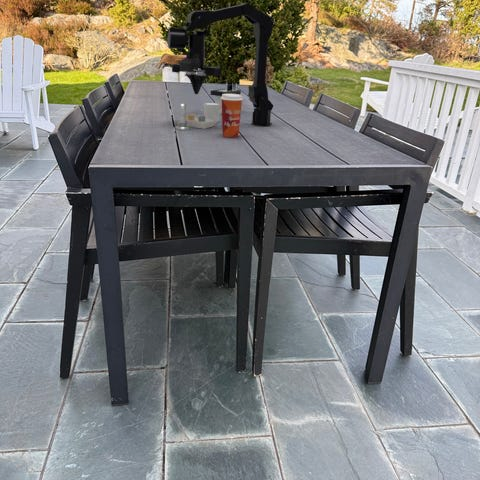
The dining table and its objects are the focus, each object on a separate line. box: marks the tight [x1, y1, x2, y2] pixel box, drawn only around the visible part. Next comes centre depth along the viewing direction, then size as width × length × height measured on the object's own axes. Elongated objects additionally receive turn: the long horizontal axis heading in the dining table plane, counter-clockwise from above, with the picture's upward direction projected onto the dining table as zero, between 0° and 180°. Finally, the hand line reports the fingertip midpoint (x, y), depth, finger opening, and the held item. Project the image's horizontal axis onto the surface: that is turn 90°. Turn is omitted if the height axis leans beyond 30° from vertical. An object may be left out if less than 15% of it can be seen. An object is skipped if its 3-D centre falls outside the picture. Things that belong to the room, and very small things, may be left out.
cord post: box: [175, 102, 190, 131], centre depth 161 cm, size 5×5×9 cm
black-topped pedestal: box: [210, 82, 242, 115], centre depth 200 cm, size 28×26×13 cm
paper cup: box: [221, 94, 244, 138], centre depth 153 cm, size 8×8×14 cm
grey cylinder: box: [203, 102, 220, 124], centre depth 179 cm, size 7×7×7 cm
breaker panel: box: [187, 114, 216, 130], centre depth 170 cm, size 12×8×4 cm, turn 62°
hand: (196, 94), depth 166 cm, fingers closed
